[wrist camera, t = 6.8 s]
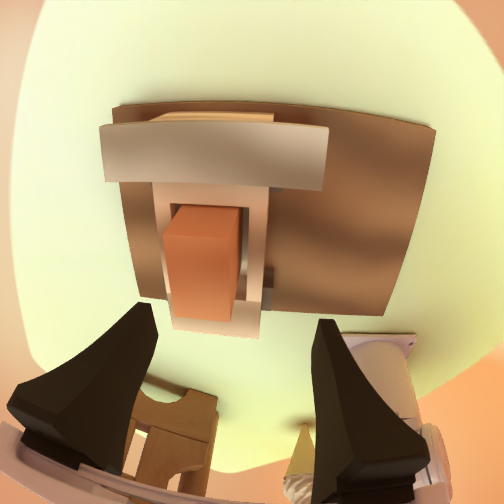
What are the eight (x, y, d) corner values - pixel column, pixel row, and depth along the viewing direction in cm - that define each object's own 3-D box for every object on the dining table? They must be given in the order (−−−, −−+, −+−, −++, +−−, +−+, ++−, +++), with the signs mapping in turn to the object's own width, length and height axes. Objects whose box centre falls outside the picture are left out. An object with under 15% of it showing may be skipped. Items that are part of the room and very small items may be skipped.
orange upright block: (241, 262, 20) (230, 322, 16) (197, 259, 21) (174, 316, 16) (243, 191, 18) (229, 238, 13) (193, 188, 18) (162, 234, 13)
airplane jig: (380, 307, 24) (394, 354, 20) (144, 289, 25) (121, 331, 21) (429, 127, 16) (470, 147, 12) (119, 106, 17) (75, 120, 13)
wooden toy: (107, 380, 35) (47, 542, 14) (108, 355, 32) (35, 545, 11) (214, 420, 37) (185, 586, 16) (232, 400, 34) (201, 596, 13)
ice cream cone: (278, 427, 37) (272, 528, 25) (298, 413, 35) (295, 524, 22) (309, 434, 38) (308, 529, 25) (330, 420, 35) (333, 524, 23)
